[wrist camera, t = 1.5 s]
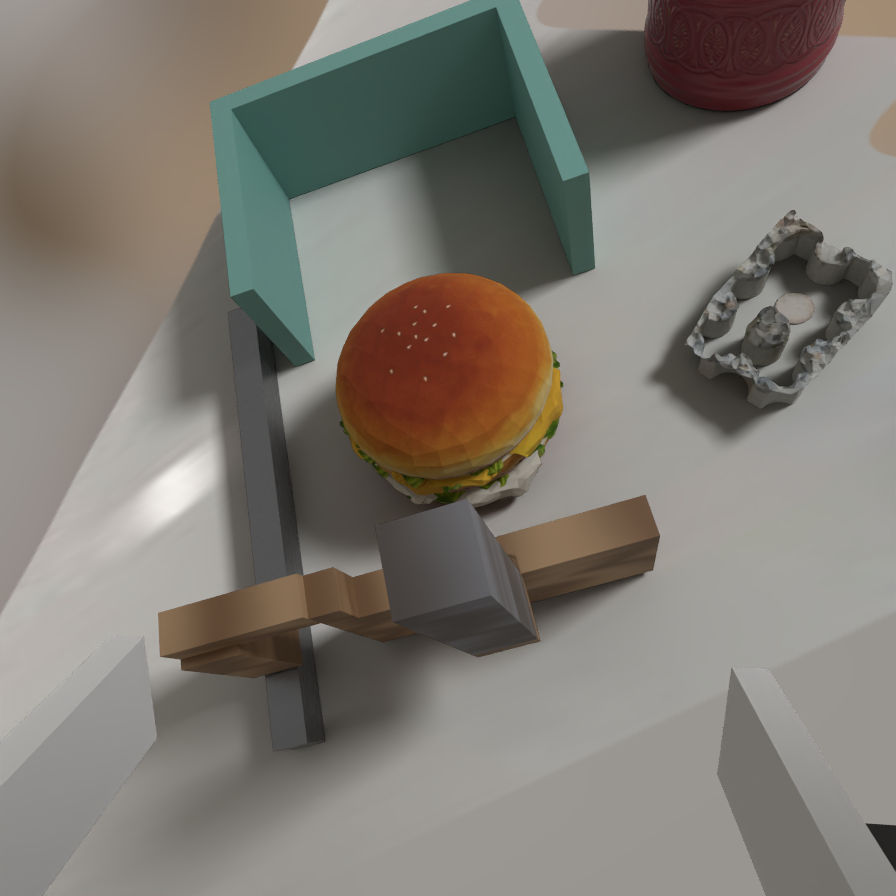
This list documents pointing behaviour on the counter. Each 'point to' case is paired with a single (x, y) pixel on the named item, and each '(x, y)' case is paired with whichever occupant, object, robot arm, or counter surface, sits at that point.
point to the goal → (382, 141)
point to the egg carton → (788, 310)
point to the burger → (450, 389)
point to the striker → (419, 588)
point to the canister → (738, 48)
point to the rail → (273, 523)
